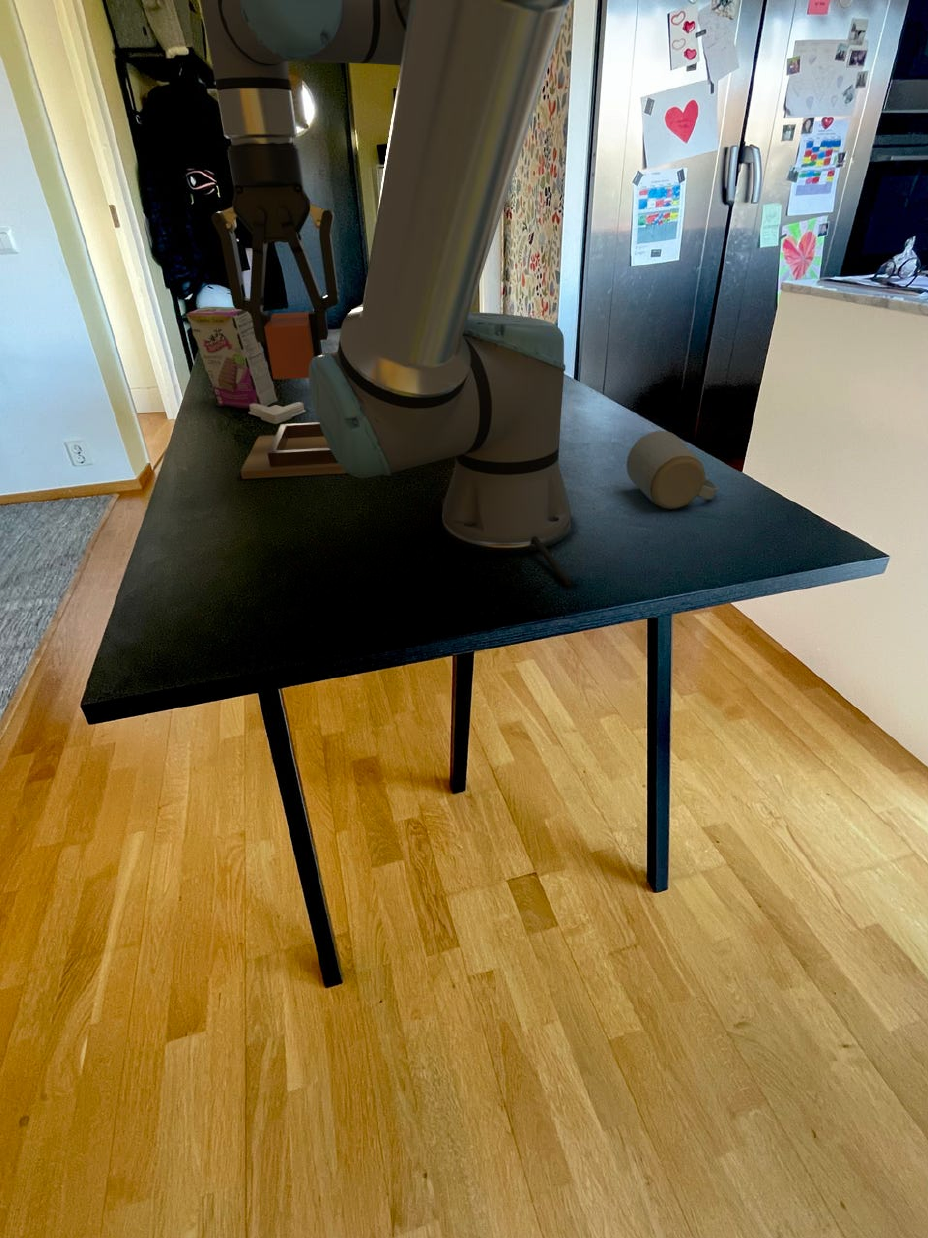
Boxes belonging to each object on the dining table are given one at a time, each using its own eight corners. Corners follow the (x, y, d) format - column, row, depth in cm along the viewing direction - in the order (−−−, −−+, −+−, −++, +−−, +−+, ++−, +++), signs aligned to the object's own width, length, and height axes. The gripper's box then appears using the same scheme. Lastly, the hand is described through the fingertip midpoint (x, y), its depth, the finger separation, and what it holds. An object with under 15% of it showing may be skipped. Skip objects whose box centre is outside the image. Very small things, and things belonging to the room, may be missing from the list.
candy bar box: (216, 407, 123) (183, 313, 113) (235, 397, 127) (204, 305, 117) (262, 411, 119) (231, 314, 108) (279, 401, 122) (252, 305, 112)
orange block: (314, 377, 81) (307, 325, 78) (273, 379, 81) (264, 326, 77) (320, 360, 88) (313, 311, 84) (281, 362, 87) (273, 313, 84)
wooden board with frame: (369, 472, 95) (367, 450, 93) (242, 479, 94) (237, 457, 92) (372, 437, 107) (370, 417, 105) (260, 443, 106) (256, 423, 104)
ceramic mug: (647, 515, 80) (657, 454, 76) (622, 489, 87) (629, 431, 83) (728, 508, 82) (742, 447, 78) (697, 482, 89) (708, 425, 84)
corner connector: (278, 402, 123) (277, 393, 122) (309, 412, 120) (308, 403, 119) (244, 413, 118) (243, 404, 117) (276, 424, 114) (274, 415, 113)
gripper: (348, 141, 74) (369, 357, 88) (184, 144, 73) (230, 363, 87) (345, 139, 68) (367, 372, 82) (166, 143, 67) (219, 379, 80)
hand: (297, 367), depth 84 cm, fingers closed on orange block, 5 cm apart
